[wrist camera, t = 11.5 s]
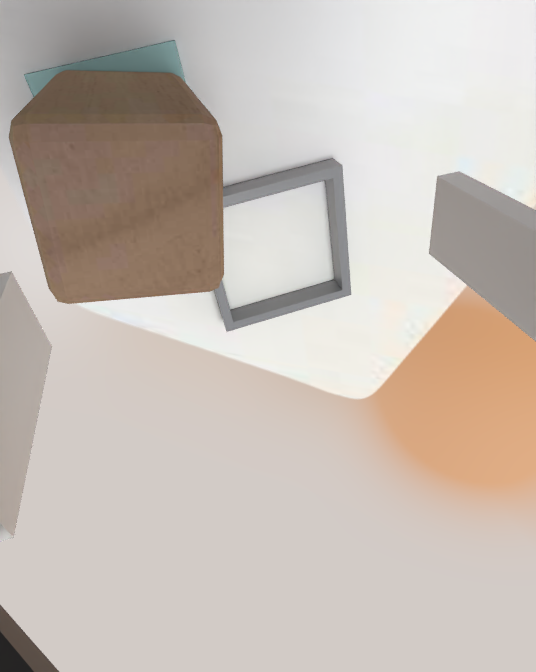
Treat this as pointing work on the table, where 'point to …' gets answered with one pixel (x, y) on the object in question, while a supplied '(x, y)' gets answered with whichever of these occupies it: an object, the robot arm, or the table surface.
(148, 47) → the board
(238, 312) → the gray square frame
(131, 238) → the wooden block
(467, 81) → the table surface
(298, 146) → the table surface
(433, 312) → the table surface
